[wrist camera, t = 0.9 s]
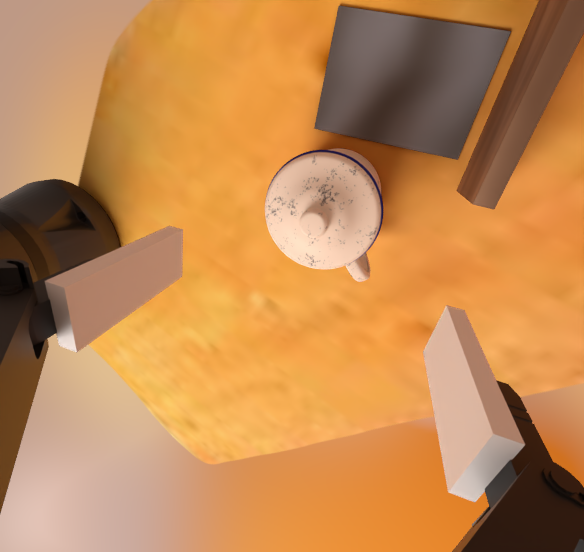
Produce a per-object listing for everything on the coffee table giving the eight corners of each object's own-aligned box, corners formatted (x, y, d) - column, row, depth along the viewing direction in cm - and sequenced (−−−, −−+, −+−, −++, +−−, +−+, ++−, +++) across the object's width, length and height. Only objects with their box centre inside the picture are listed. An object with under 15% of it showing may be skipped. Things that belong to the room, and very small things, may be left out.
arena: (309, 156, 30) (292, 161, 25) (362, -111, 22) (354, -189, 16) (473, 194, 28) (494, 209, 22) (605, -90, 19) (688, -174, 14)
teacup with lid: (277, 175, 32) (226, 196, 21) (359, 125, 28) (343, 121, 18) (330, 273, 35) (307, 331, 24) (410, 240, 31) (422, 293, 21)
